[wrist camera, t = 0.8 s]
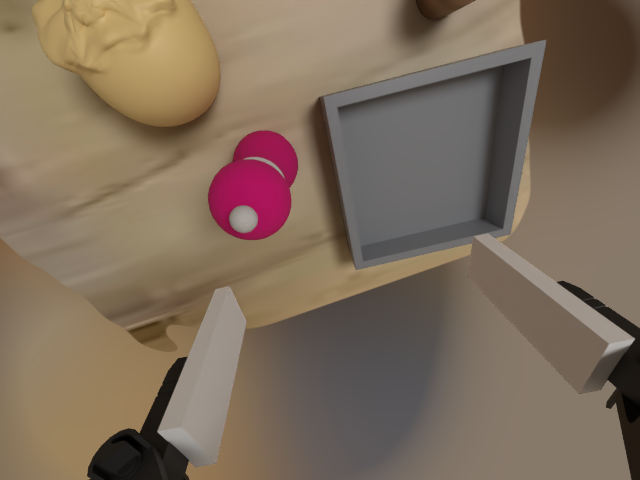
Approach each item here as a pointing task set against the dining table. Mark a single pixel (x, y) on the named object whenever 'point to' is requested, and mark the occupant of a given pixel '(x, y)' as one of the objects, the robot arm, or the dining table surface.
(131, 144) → the dining table surface
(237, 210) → the pepper mill
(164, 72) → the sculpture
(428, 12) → the walnut cylinder
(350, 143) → the tray
